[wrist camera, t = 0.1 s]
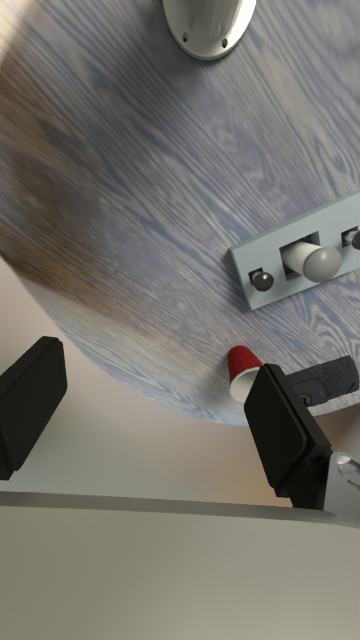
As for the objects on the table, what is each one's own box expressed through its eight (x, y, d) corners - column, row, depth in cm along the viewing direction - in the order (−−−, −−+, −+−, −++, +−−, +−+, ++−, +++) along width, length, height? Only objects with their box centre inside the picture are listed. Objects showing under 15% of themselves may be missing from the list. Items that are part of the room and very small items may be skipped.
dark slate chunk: (356, 388, 63) (369, 401, 59) (283, 410, 67) (290, 424, 63) (352, 350, 57) (366, 362, 53) (271, 378, 61) (278, 390, 57)
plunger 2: (333, 231, 41) (355, 234, 36) (353, 222, 40) (378, 224, 35) (335, 248, 42) (356, 254, 37) (354, 240, 42) (378, 245, 37)
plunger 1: (243, 270, 44) (252, 278, 39) (260, 263, 43) (271, 269, 38) (248, 285, 46) (257, 294, 41) (265, 278, 45) (275, 287, 40)
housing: (228, 248, 43) (232, 250, 41) (352, 190, 39) (365, 189, 36) (247, 304, 49) (251, 310, 47) (356, 260, 45) (368, 264, 42)
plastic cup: (249, 373, 59) (265, 410, 49) (213, 365, 58) (221, 400, 47) (267, 342, 54) (290, 375, 44) (229, 332, 53) (242, 363, 42)
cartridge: (277, 247, 43) (303, 257, 35) (305, 234, 42) (340, 241, 34) (283, 272, 46) (308, 288, 37) (310, 261, 45) (343, 274, 36)
